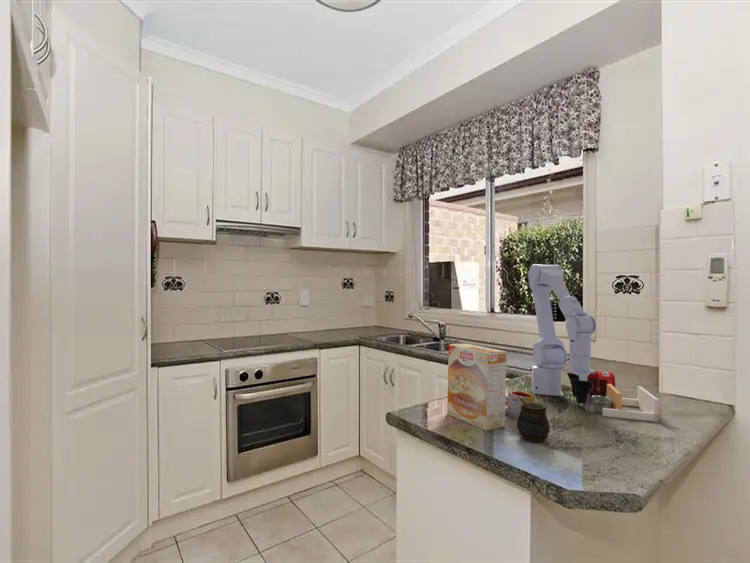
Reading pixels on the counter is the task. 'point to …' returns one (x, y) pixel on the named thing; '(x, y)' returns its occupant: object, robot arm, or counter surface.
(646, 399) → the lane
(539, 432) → the mate gourd
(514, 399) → the mug
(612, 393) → the pusher plate
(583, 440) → the counter surface
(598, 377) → the canned food
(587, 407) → the egg carton
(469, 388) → the coffeecake box
